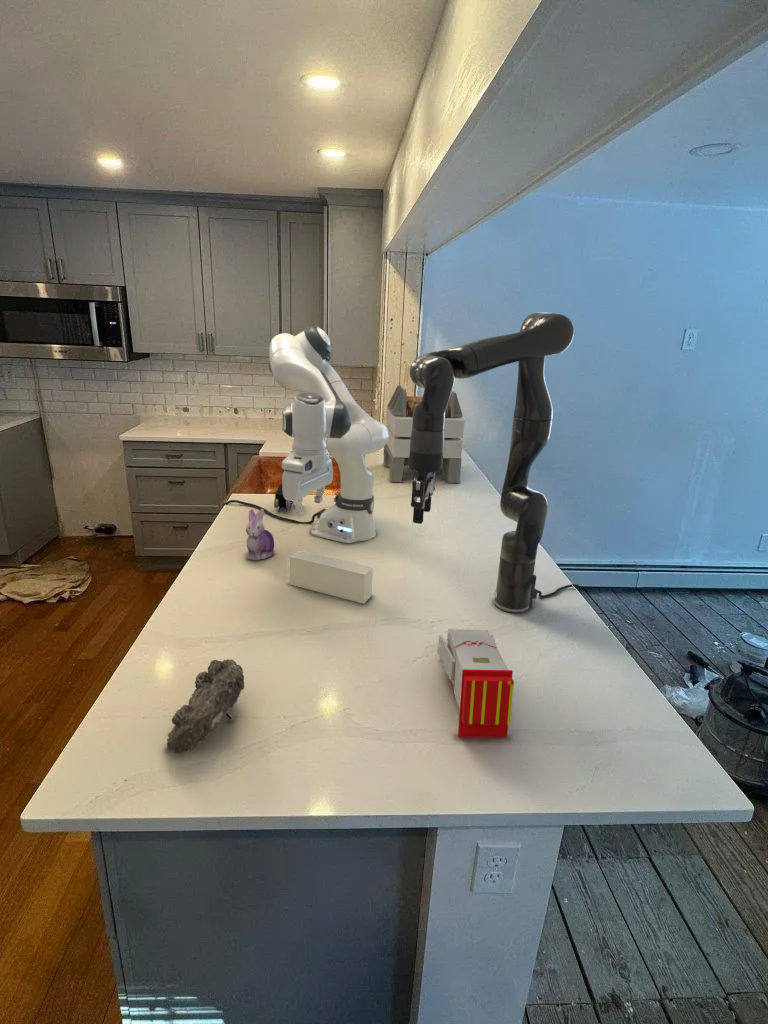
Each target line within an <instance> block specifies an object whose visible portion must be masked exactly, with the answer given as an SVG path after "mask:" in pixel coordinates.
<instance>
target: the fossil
mask: <svg viewBox="0 0 768 1024" xmlns="http://www.w3.org/2000/svg"><path fill="white" fill-rule="evenodd" d="M243 670H244V669H243V667H242V665H240V664H237V662H236V661H235V660H234V659H232V658H231V659H227V658H226V659H224V660H223V661H222V660H217V659H212V660H211V661H210V663H209V665H208V666H207V671H201V672H199V673H198V674H197V675H196V676H195V680H194V684H195V685H194V687H195V689H194V690H193V693H192V694H191V697H190V698H189V700H188V704H184V705H182V706H181V707H180V709H177V710H176V711H175V713H174V715H173V716H172V718H171V723H172V724H173V727H172V730H171V731H170V732H168V734H167V738H166V741H167V742H166V745H167V749H168V750H169V751H173V752H174V753H176V754H178V753H182V752H188V751H189V752H192V751H193V750H195V748H196V747H197V746H199V744H200V743H201V742H203V741H204V740H205V739H206V738H207V737H208V736H209V735H210V734H211V733H212V732H214V730H215V729H217V727H218V726H219V724H220V722H221V721H222V720H223V719H224V718H225V716H226V717H227V719H229V720H233V717H232V715H230V714H229V710H230V709H231V708H234V706H235V704H236V703H237V702H238V699H239V697H240V695H241V693H242V691H243V690H245V689H244V688H245V675H244V671H243Z"/></svg>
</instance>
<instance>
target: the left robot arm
mask: <svg viewBox="0 0 768 1024" xmlns="http://www.w3.org/2000/svg"><path fill="white" fill-rule="evenodd" d="M331 354H332V343H331V339H330V337H329V335H328V334H327V333H326V331H325V330H323V329H322V328H320V326H318V325H314V324H313V325H310V326H308V327H305V328H304V329H303V330H302V331H301V332H299V333H298V334H296V335H293V334H291V333H287V332H281V333H279V334H277V335H275V336H274V337H273V338H272V339H271V341H270V343H269V349H268V359H269V360H268V369H269V372H270V373H271V375H272V376H273V379H274V380H275V382H276V383H277V384H278V385H279V386H281V387H282V388H283V389H286V390H288V391H294V392H299V394H297V395H295V397H294V399H293V402H291V403H290V402H289V403H288V404H287V405H286V406H285V407H284V408H283V409H282V411H281V412H282V432H283V433H285V434H286V435H287V436H288V437H290V438H293V442H292V450H291V451H290V452H289V454H288V455H287V456H286V457H285V458H284V459H283V460H282V462H281V469H282V470H284V471H283V473H282V478H281V485H282V490H283V496H284V498H285V499H286V500H290V501H293V505H294V506H295V513H296V514H300V515H301V514H303V513H305V505H303V503H302V502H303V501H304V498H305V497H307V496H309V495H311V494H313V493H315V495H314V497H313V499H314V501H313V502H314V503H315V504H320V503H322V502H323V497H324V494H325V491H326V486H329V485H331V484H332V483H333V481H334V466H333V461H332V459H331V458H333V459H334V460H335V462H336V464H337V466H338V470H339V476H340V477H339V478H340V480H339V481H340V484H339V485H340V490H339V491H338V492H337V494H336V495H335V496H334V497H333V502H334V504H333V505H331V506H329V507H328V508H323V509H321V510H319V511H317V512H315V513H314V514H313V515H312V517H311V520H310V521H300V520H296V519H293V518H288V517H283V516H280V515H277V514H275V513H273V512H271V511H269V510H268V509H266V508H264V507H262V506H260V505H258V504H254V503H250V502H245V501H241V500H237V499H230V500H228V501H226V502H225V503H224V505H229V504H232V503H237V504H240V505H244V506H248V507H253V508H256V509H259V510H260V509H262V508H263V509H264V513H266V514H268V515H269V516H271V517H273V518H276V519H279V520H282V521H286V522H290V523H293V524H301V525H312V524H313V523H314V522H315V518H316V519H318V521H317V523H315V524H314V525H313V526H312V528H311V530H310V533H311V536H315V537H319V538H323V539H326V540H330V541H336V542H339V543H343V544H352V543H357V542H365V541H368V540H372V539H373V538H375V537H376V535H377V532H376V528H375V523H374V513H373V512H374V509H375V496H374V473H373V471H372V470H371V469H369V468H368V467H367V464H366V456H367V455H370V454H374V453H376V452H378V451H380V450H381V449H384V446H385V445H386V444H387V441H388V431H387V428H386V425H385V424H384V423H383V422H381V421H378V420H376V419H375V418H373V417H372V416H371V415H370V414H368V412H366V411H365V410H364V409H363V408H362V407H361V406H360V405H359V404H358V403H357V402H356V400H355V399H354V397H353V395H352V394H351V392H350V391H349V389H348V388H347V386H346V384H345V383H344V381H343V379H342V377H341V376H340V375H339V374H338V372H337V371H336V369H334V367H333V366H332V365H331V364H330V363H329V362H330V360H331V358H332V357H331Z"/></svg>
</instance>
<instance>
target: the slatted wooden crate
mask: <svg viewBox="0 0 768 1024" xmlns="http://www.w3.org/2000/svg"><path fill="white" fill-rule="evenodd" d="M407 394H408V393H407V390H406V389H404V388H403V387H402V385H399V384H398V385H397V386H396V388H395V390H394V392H393V394H392V395H391V398H390V400H389V402H388V404H387V405H386V413H385V414H386V415H385V423H386V425H385V427H386V428H387V431H388V441H387V444H386V445H385V446H384V447H383V466H384V467H388V468H389V475H388V476H389V477H388V478H389V480H390V482H391V483H402V482H403V475H404V469H405V466H406V467H407V466H408V467H409V453H410V437H411V432H412V422H413V409H414V405H415V403H417V402H418V401H421V400H422V398H423V396H415V395H414V396H413V395H412V396H411V395H407ZM464 429H465V419H464V418H463V411H462V408H461V405H460V402H459V398H458V395H457V392H455V391H453V390H452V392H451V396H450V399H449V402H448V405H447V407H446V410H445V423H444V450H443V463H442V469H441V470H440V471H439V473H440V474H441V475H443V478H444V479H445V481H446V482H447V483H449V484H455V483H456V484H459V483H461V472H462V461H463V460H462V453H463V442H464V441H463V440H462V439H463V438H464V431H465V430H464Z"/></svg>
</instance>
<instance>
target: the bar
mask: <svg viewBox="0 0 768 1024" xmlns="http://www.w3.org/2000/svg"><path fill="white" fill-rule="evenodd" d="M373 570H374V567H373V566H368V565H364V564H359V563H356V562H351V561H348V560H347V561H346V560H344V559H343V560H342V559H339V558H333V557H330V556H325V555H322V554H317V553H312V552H309V551H305V550H304V551H303V550H300V549H299V550H297V551H295V552H294V553H293V554H291V555H289V585H290V586H295V587H299V588H303V589H305V590H310V591H314V592H317V593H321V594H324V595H328V596H333V597H336V598H340V599H344V600H346V601H347V600H348V601H351V602H355V603H359V604H363V605H364V604H366V602H367V601H369V600H370V599H371V597H373V596H372V595H373V576H374V575H373V572H374V571H373Z"/></svg>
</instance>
